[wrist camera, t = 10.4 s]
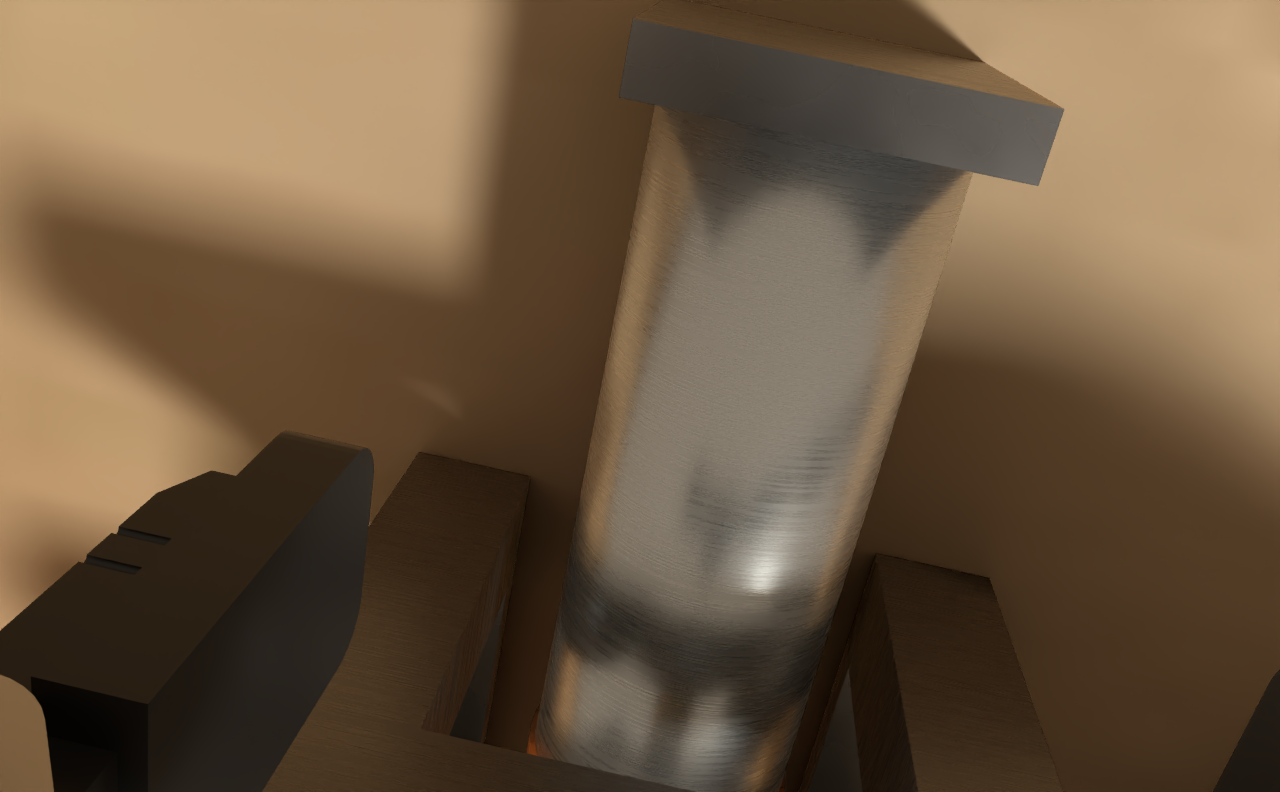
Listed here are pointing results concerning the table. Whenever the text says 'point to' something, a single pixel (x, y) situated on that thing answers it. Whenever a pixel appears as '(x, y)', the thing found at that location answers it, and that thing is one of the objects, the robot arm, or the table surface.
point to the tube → (756, 375)
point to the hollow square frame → (546, 788)
